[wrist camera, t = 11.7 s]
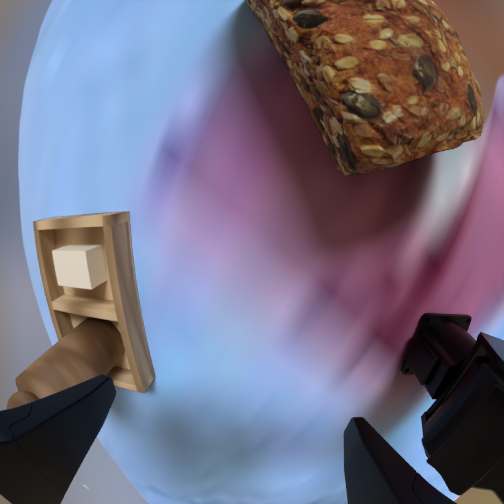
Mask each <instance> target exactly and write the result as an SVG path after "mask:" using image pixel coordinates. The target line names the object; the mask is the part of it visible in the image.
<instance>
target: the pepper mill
mask: <svg viewBox="0 0 504 504" xmlns="http://www.w3.org/2000/svg"><path fill="white" fill-rule="evenodd" d="M124 352H125V348H124V344H123V341H122V337H121V333H120V331H119V330H118V329H117V328H116V326H115V325H114V324H113V323H112V322H110V321H109V320H106V319H100V318H94V317H88V318H86V319H85V320H84V321H83V322H81V323H80V324H79V325H78V326H76V327H75V328H74V329H73V330H71V331H70V332H69V333H68V334H67V335H65V336H64V337H63V338H62V339H61V340H59V341H58V342H57V343H56V344H55V345H53V346H52V347H51V348H50V349H49V350H47V351H46V352H45V353H44V354H43V355H42V356H40V357H39V358H38V359H37V360H36V361H35V362H34V363H32V364H31V365H30V366H29V367H28V368H27V369H26V370H24V371H23V372H22V373H21V374H20V375H19V376H18V377H17V378H16V385H17V388H18V390H19V391H18V392H16V393H14V394H13V395H12V396H11V397H10V399H9V401H8V404H7V409H11V408H15V407H18V406H21V405H24V404H27V403H30V402H34V401H36V400H38V399H41V398H44V397H46V396H49V395H51V394H54V393H57V392H59V391H62V390H64V389H67V388H69V387H72V386H74V385H77V384H79V383H81V382H84V381H86V380H89V379H91V378H93V377H96V376H98V375H101V374H105V375H107V374H108V373H109V372H110V370H111V369H112V368H113V367H114V365H115V364H116V363H117V362H118V361H119V359H120V358H121V357H122V356H123V354H124Z"/></svg>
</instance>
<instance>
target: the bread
mask: <svg viewBox="0 0 504 504" xmlns="http://www.w3.org/2000/svg"><path fill="white" fill-rule="evenodd" d="M245 1H246V2H247V4H248V6H249V7H250V8H251V10H252V11H253V13H254V15H255V16H256V17H257V18H258V19H259V21H260V22H261V24H262V25H263V27H264V29H265V31H266V33H267V34H268V36H269V38H270V41H271V42H272V43H273V44H274V46H275V48H276V49H277V51H278V53H279V55H280V57H281V59H282V60H283V61H284V63H285V65H286V67H287V70H288V71H289V73H290V75H291V77H292V78H293V80H294V82H295V84H296V86H297V88H298V90H299V92H300V94H301V95H302V97H303V99H304V100H305V102H306V103H307V105H308V107H309V109H310V112H311V116H312V118H313V119H314V121H315V123H316V125H317V127H318V129H319V131H320V132H321V133H322V135H323V140H324V141H325V143H326V145H327V146H328V148H329V150H330V153H331V156H332V159H333V160H334V162H335V164H336V167H337V169H338V170H339V171H341V172H343V173H344V175H345V176H346V175H355V174H357V175H358V174H366V173H370V172H374V171H377V170H381V169H388V168H392V167H395V166H399V165H401V164H404V163H406V162H408V161H412V160H415V159H418V158H421V157H423V156H426V155H429V154H433V153H437V152H441V151H445V150H450V149H454V148H457V147H459V146H460V145H461V144H462V143H464V142H467V141H471V140H475V139H477V138H478V137H479V136H481V133H482V124H483V119H484V112H483V107H482V104H481V90H480V86H479V84H478V82H477V81H476V79H475V76H474V73H473V68H472V65H471V64H470V63H469V61H468V60H467V57H466V55H465V52H464V50H463V47H462V45H461V42H460V40H459V37H458V35H457V33H456V32H455V31H454V30H453V28H452V26H451V25H450V23H449V21H448V19H447V18H446V16H445V15H444V13H443V11H442V10H441V9H440V8H439V7H438V6H437V5H436V4H435V3H434V2H433V1H431V0H245Z"/></svg>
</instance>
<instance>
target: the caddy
mask: <svg viewBox="0 0 504 504" xmlns="http://www.w3.org/2000/svg"><path fill="white" fill-rule="evenodd" d="M33 226H34V235H35V243H36V250H37V256H38V262H39V267H40V273H41V278H42V282H43V287H44V291H45V296H46V300H47V304H48V307H49V311H50V315H51V318H52V322H53V325H54V328H55V331H56V334H57V337H58V340H61V339H62V338H63V337H64V336H65V335H67V334H68V333H69V332H70V331H71V330H73V329H74V328H75V327H76V326H78V325H79V324H80V323H81V322H83V321H84V320H85V319H86V318H88V317H94V318H100V319H106V320H109V321H110V322H112V323H113V324H114V325H115V326H116V328H117V329H118V330H119V331H120V333H121V337H122V341H123V344H124V348H125V352H124V354H123V356H122V357H121V358H120V359H119V361H118V362H117V363H116V364H115V365H114V367H113V368H112V369H111V370H110V372H109V373H108V374H107V375H108V376H110V377H112V379H113V382H114V386H118V387H121V388H125V389H129V390H133V391H137V392H142V393H145V392H146V390H147V389H148V387H149V386H150V384H151V383H152V381H153V379H154V378H155V373H154V369H153V365H152V361H151V357H150V352H149V348H148V343H147V339H146V334H145V329H144V324H143V319H142V313H141V308H140V302H139V296H138V289H137V283H136V275H135V268H134V260H133V251H132V241H131V229H130V216H129V211H123V212H109V213H95V214H83V215H72V216H62V217H52V218H48V219H43V220H39V221H34V222H33ZM66 245H102V249H103V257H104V264H105V271H106V277H107V280H106V281H105V282H103V283H102V284H100V285H98V286H97V287H95V288H93V289H83V288H75V287H67V286H59V285H58V282H57V277H56V272H55V266H54V261H53V254H52V250H55V249H58V248H61V247H64V246H66Z"/></svg>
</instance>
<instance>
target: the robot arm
mask: <svg viewBox="0 0 504 504" xmlns="http://www.w3.org/2000/svg"><path fill="white" fill-rule="evenodd" d="M426 318H428V319H427V320H426ZM425 320H426V321H425ZM470 322H471V317H470V316H469V315H460V314H437V313H425V314H424V315H423V316H422V318H421V321H420V324H419V326H418V329H417V332H416V335H415V337H414V339H413V341H412V344H411V346H410V349H409V351H408V354H407V356H406V359H405V361H404V364H403V366H402V368H401V371H402V373H403V374H415V375H416V377H417V379H418V380H419V382H420V384H421V385H424V386H425V388H426V389H427V391H428V393H429V394H430V396H431V398H432V399H436V401H435V402H434V403H433V404H432V406H431V407H430V408H429V409H428V410H427V412H424V414H423V415H422V416H421V420H422V429H423V438H422V445H423V447H424V450H425V453H426V456H427V457H428V459H427V463H428V464H429V465H431V466H432V467H433V468H435V469H436V470H437V472H438V473H439V474H440V475H441V476H442V478H443V480H444V481H445V483H446V485H447V487H448V489H449V491H451V492H452V493H454V494H457V495H462V494H463V493H465V492H466V491H467V490H469V489H470V488H477V489H484V490H490V491H492V492H493V493H495V495H496V496H497V497H498V499H499V500H500V501H501V503H502V504H504V340H501V339H499V338H496V337H493V336H490V335H488V334H485V333H482V332H480V333H479V335H478V337H477V341H476V340H475V339H474V338H473V337H472V336H471V335H470V334H469V333H468V332H467V330H468V328H469V325H470ZM115 395H116V390H115V386H114V382H113V379H112V377H110V376H108V375H105V374H101V375H98V376H96V377H93V378H91V379H89V380H86V381H84V382H81V383H79V384H77V385H74V386H72V387H69V388H67V389H64V390H62V391H59V392H57V393H54V394H51V395H49V396H46V397H44V398H41V399H38V400H36V401H34V402H30V403H27V404H24V405H21V406H18V407H15V408H11V409H7V410H3V411H0V504H61V502H62V500H63V498H64V495H65V493H66V492H67V490H68V488H69V486H70V484H71V482H72V480H73V478H74V476H75V474H76V473H77V471H78V469H79V467H80V465H81V463H82V462H83V460H84V458H85V456H86V454H87V453H88V451H89V449H90V447H91V445H92V444H93V442H94V440H95V438H96V437H97V435H98V433H99V431H100V430H101V428H102V426H103V424H104V422H105V419H106V417H107V415H108V412H109V410H110V408H111V405H112V403H113V401H114V398H115ZM344 473H345V481H346V490H347V499H348V504H457V503H455V502H454V501H452V500H451V499H449V498H448V497H447V496H445V495H444V494H442V493H441V492H440V491H438V490H437V489H436V488H434V487H433V486H432V485H431V484H429V483H428V482H427V481H426V480H425V479H424V478H423V477H422V476H421V475H420V474H419V473H418V472H416V471H415V470H414V469H413V468H412V467H411V466H410V465H409V464H408V463H407V462H406V461H405V460H404V459H403V458H402V457H401V456H400V455H399V454H398V453H397V452H396V451H395V450H394V449H393V448H392V447H391V446H390V445H389V444H388V443H387V442H386V441H385V440H384V438H383V437H382V436H381V435H380V434H379V433H378V432H377V431H376V430H375V429H374V428H373V427H372V426H371V425H370V424H369V423H368V422H367V421H366V420H365V419H364V418H363V417H353V418H351V420H350V422H349V423H348V425H347V427H346V429H345V431H344Z"/></svg>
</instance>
